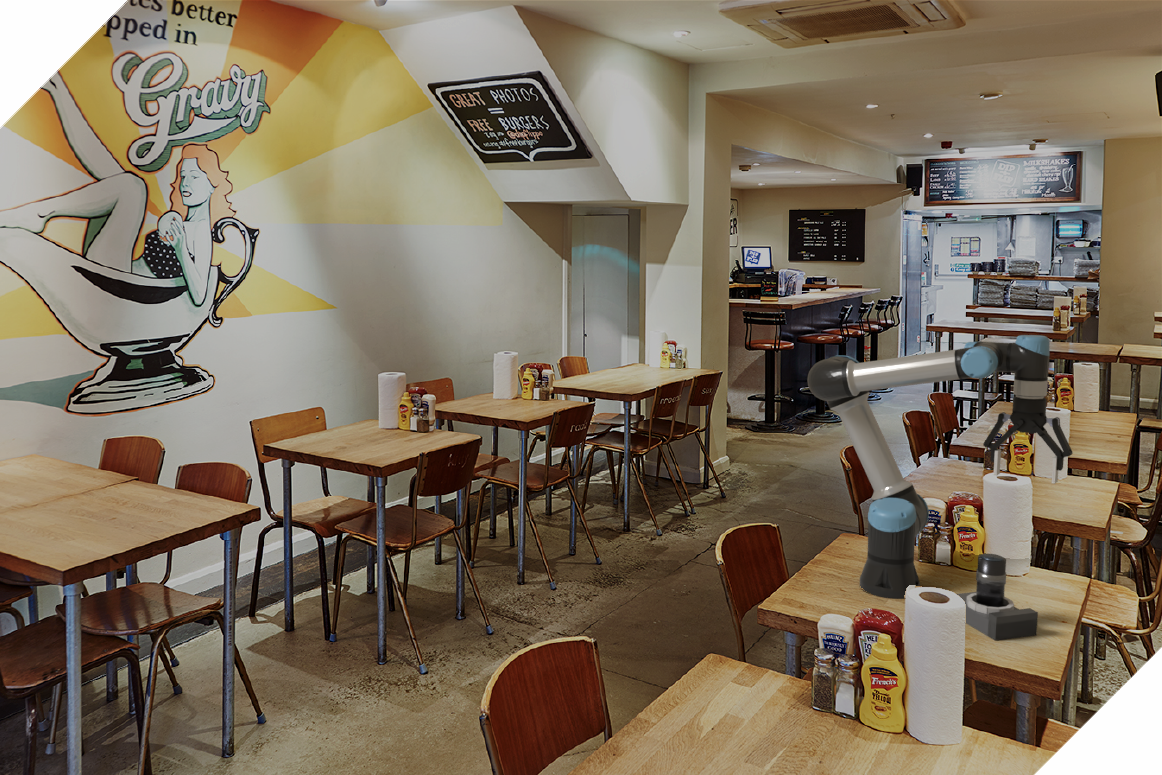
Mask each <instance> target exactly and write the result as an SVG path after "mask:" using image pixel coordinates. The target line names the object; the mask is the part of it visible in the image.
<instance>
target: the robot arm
mask: <svg viewBox="0 0 1162 775" xmlns="http://www.w3.org/2000/svg"><path fill="white" fill-rule="evenodd" d="M1050 341H1051V340H1050V339H1049V337H1047V336H1045V335H1039V334H1038V335H1037V334H1036V335H1035V334H1029V335H1028V334H1020V335H1018V336H1017V337H1016V340H1015V342H996V341H995V342H994V341H993V342H992V341H991V342H990V341H982V340H981V341H968V342H966V343H965V344H964V347H963V348H959V349H952V350H951V349H950V350H943V351H938V352H937V351H936V352H930V353H928V352H927V353H921V354H914V355H907V356H900V357H894V358H886V359H879V360H870V361H864V362H863V361H862V362H860V361H858V360H857V359H856V358H854V357H852V356H848V355H834V356H830V357H828V358H825V359H822V360H820V361H818V362H816V363H815V364H813V366H812V367H811V368H810V370H809V371H808V374H807V386H808V389H809V390H810V392H811V394H812V395H814V397H815V398H817V399H819V400H822V401H826V403H827V405H828V408H829V410H831V411H833V412H835V413H837V414H838V416H839V418H840V421H841V422H842V424H843V427H844V429H845V431H846V433H847V436H848V437H849V440H850V441H851V444H852V446H853V448H854V450H855V453H856V454H857V457H858V459H859V461H860V463H861V465H862V467H863V469H864V472H865V475H866V476H867V479H868V481H869V483H870V484H871V485H870V486H871V488H872V489H873V493H872V496H871V501H872V502H871V503H870V505H869V508H868V513H867V521H868V522H867V525H868V526H867V530H868V531H867V557H866V561H865V563H864V565H863V568H862V572H861V574H860V575H859V576H860V577H859V587H860V586H861V588H863V589H864V590H865V591H867V592H869V593H871V594H870V595H872V594H873V596H875V595H876V597H880V598H885V599H895V600H899V599H900V600H903V599H904V595H905V591H906V588H907V587H908V586H909V585H916V586H920V587H921V583H920V580H919V576H918V572H917V569H916V566H915V563H914V562H915V540H916V537H917V536H918V535H919V534H920V533H921V532H922V531H924V529H925V527H926V526H927V523H928V520H929V518H930V517H929V515H930V513H929V512H930V510H929V506H928V503H927V501H926V500H925V499H924V497H922V496H921V495H920V493H917V491H916V489H915V487H914V485H913V483H912V482H910V481H908V480H905V479H904V476H903V474H902V472H901V470H900V469H899V466H898V464H897V461H896V460H895V457H894V456H893V453H892V451H891V449H890V447H889V445H888V442H887V441H886V438H885V436H884V434H883V432H882V429H881V428H880V426H879V423H878V421H877V419H876V416H875V415H874V413H873V410H872V408H871V406H870V405H869V402H868V398H869V396H870V391H876V390H883V389H884V390H885V389H891V388H892V389H893V388H898V387H907V386H916V385H917V386H918V385H924V384H930V383H940V382H947V381H954V380H955V381H957V380H965V379H983V378H988V377H990V376H991V375H992V374H993V373H996V372H997V373H1002V372H1003V373H1014V376H1013V379H1014V380H1013V381H1014V382H1013V395H1014V397H1012V412H1011V414H1010V413H1006V412H1004V411H1003V412H1000V413H999V414H998V415H997V422H996V423H995V424H994V426H993V427H992V429H991V431H990V432H989V434H988V436H987V437H986V438H985V440H984V441H983V447H985V448H989V450H990V455H989V456H990V458H989V459H990V462H991V463H993V476H996V477H997V476H998V475H1000V474H1001V457H1002V454H1001V453H1002V449H998V448H999V447H1000V446H1002V445H1003V444H1004V443H1005V442H1006V441H1008V439H1009V438H1010V437H1011V436H1012V435H1014V434H1015V433H1016V432H1017V431H1018V432H1020V433H1021V434H1024V433H1027V434H1032V435H1033V434H1037V435H1038V436H1039V437H1040V438H1041V439H1042V440H1043V441H1044V443H1045V444H1046V445H1047V447H1049V449H1050V450H1051V451H1052V453H1053V454H1054V455H1055V456H1054V457H1052V469H1051V470H1052V472H1051V484H1057V483H1058V481H1059V480H1058V479H1059V471H1062V470H1063V469H1064V461H1065V460H1064V458H1066V457H1067V458H1069V457H1070V456H1071V455H1073V453H1074V452H1073V450H1072V448H1071V445H1070V444H1069V442H1068V440H1067V438H1066V435H1065V433H1064V431H1063V428H1062V427H1061V419H1060V417H1058V416H1056V417H1054V418H1053V417H1047V412H1046V411H1047V402H1048V401H1047V399H1046V397H1047V395H1048V383H1049V382H1048V381H1049V380H1048V378H1049V366H1050V343H1051V342H1050ZM1008 420H1010V422H1011V423H1012V426H1010V428H1009V429H1008V430H1007V431H1006V432H1005V433H1003V435H1001V436H1000V437H999V438H998V439H997V440H996V441H995V442H994V439H995V438H996V436H997V435H998V434H999V432H1000V430H1001V429H1002V427H1003V426H1004V424H1005V423H1006V422H1008ZM1046 424H1049V426H1050V427H1051V428H1052V430H1053V432H1054V435H1055V436H1056V439H1057V441H1058V443H1059V445H1060V446H1059V445H1058V444H1057V442H1056V441H1055V440H1054V438H1052V436H1051V435H1050V434H1049V432H1048V431H1047V429H1046V428H1045V427H1044V426H1045V425H1046ZM861 588H860V589H861ZM864 590H863V591H864ZM865 591H864V592H865ZM867 592H866V593H867ZM869 593H868V594H869ZM904 600H905V599H904Z"/></svg>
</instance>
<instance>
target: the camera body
mask: <svg viewBox="0 0 1162 775" xmlns="http://www.w3.org/2000/svg"><path fill="white" fill-rule="evenodd" d="M956 594H957V595H959V596H960V597H961V598H962V599H963V600H964V601H965V604H966V623H965V624H966V625H968V626H970V627H972V628H974V629H975V630H977V631H978V632H980V633H982V634H984V636H987V637H988V638H990V639H992V640H994V641H1003V640H1011V639H1020V638H1027V637H1034V636H1035V637H1036V636H1037V634H1038V633H1037V632H1038V618H1039V617H1038V615H1039V612H1038V611H1036V610H1034V609H1032V608H1030V607H1029V608H1021V609H1019V608H1017V607H1016V606H1015V603H1014V601H1013V600H1012V599H1010V598H1008V597H1006V596H1004V607H988V606H984V605H981V604H978V603H976V591H971V592H961V593H956Z"/></svg>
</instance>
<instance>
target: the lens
mask: <svg viewBox="0 0 1162 775" xmlns="http://www.w3.org/2000/svg"><path fill="white" fill-rule="evenodd" d="M1006 568H1007V558H1005V557H1004V556H1001V555H1000V554H995V553H983V554H981V553H980V554H979V555H978V556H977V568H976V574H975V575H976V576H975V581H976V590H975V592H976V603H978V604H981V605H984V606H988V607H1004V597H1005V587H1006V584H1007V572H1006Z"/></svg>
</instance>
